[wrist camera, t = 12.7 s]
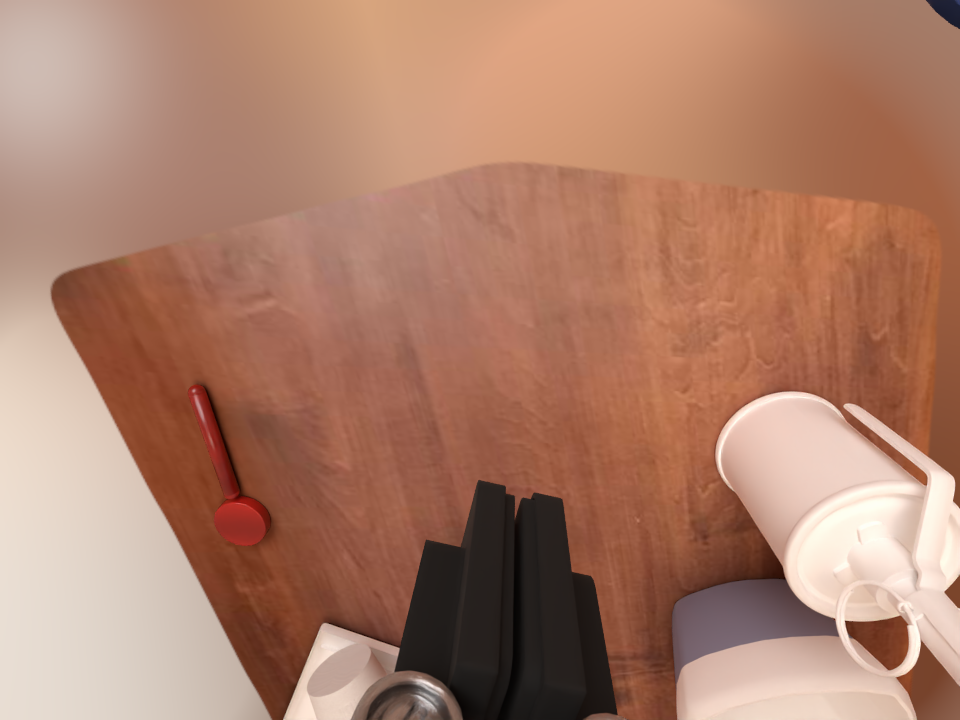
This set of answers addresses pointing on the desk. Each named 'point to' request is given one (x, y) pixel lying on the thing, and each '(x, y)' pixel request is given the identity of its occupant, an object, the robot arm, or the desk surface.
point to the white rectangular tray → (327, 643)
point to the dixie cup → (343, 682)
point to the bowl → (772, 660)
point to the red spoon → (228, 482)
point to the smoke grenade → (849, 519)
